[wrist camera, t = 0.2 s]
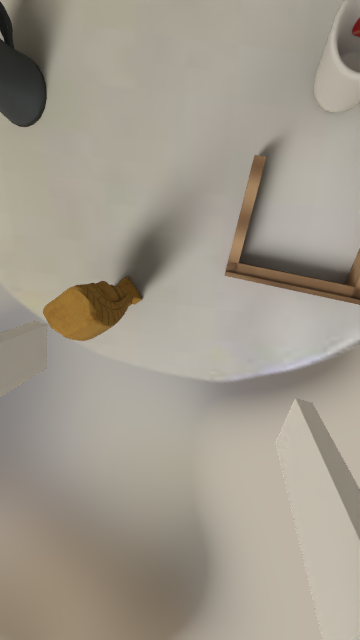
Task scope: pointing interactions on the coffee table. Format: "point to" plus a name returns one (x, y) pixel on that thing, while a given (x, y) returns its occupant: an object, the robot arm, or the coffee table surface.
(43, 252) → the coffee table surface
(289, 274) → the brown wooden open frame
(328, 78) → the cup
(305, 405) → the robot arm
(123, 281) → the figurine
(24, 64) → the mug
